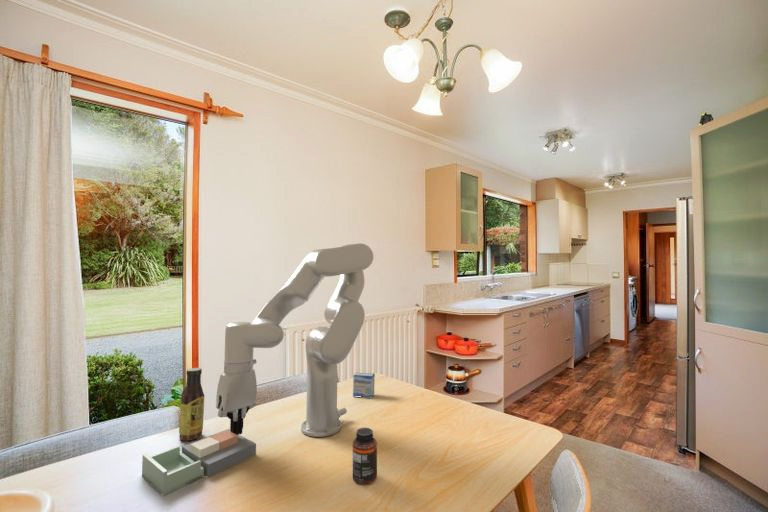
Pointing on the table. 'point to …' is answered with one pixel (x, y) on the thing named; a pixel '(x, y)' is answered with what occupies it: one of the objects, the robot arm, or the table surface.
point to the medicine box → (363, 384)
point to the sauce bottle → (192, 407)
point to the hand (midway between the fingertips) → (236, 433)
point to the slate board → (223, 455)
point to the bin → (170, 470)
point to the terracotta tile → (226, 439)
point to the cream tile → (204, 447)
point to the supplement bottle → (364, 457)
